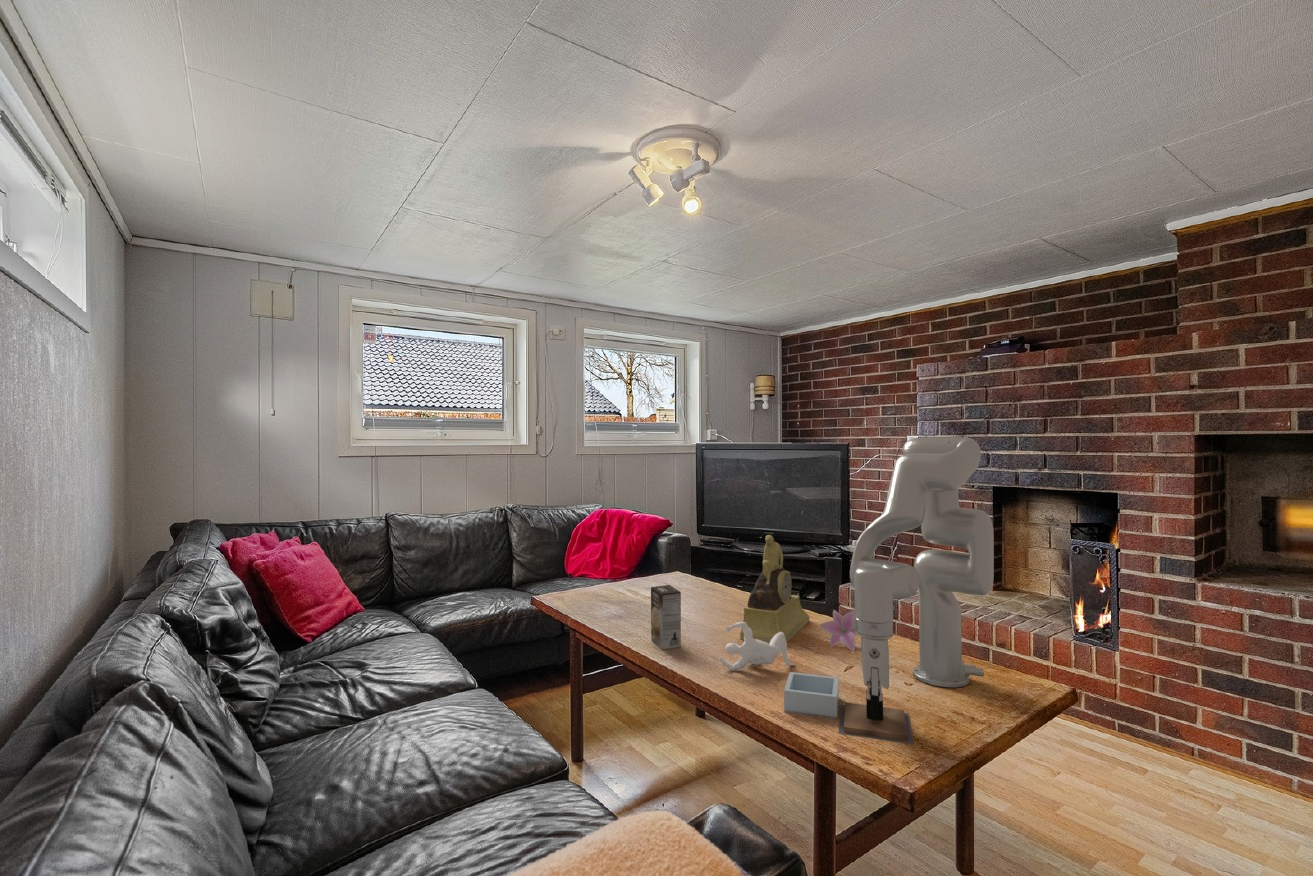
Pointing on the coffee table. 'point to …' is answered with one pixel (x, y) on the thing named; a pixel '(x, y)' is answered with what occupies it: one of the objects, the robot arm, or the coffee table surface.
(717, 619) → the coffee table surface
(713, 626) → the coffee table surface
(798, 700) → the grey square box
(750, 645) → the person figurine
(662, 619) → the coffee box
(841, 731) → the mat
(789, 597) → the decorative clock
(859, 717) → the lid
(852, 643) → the lily
